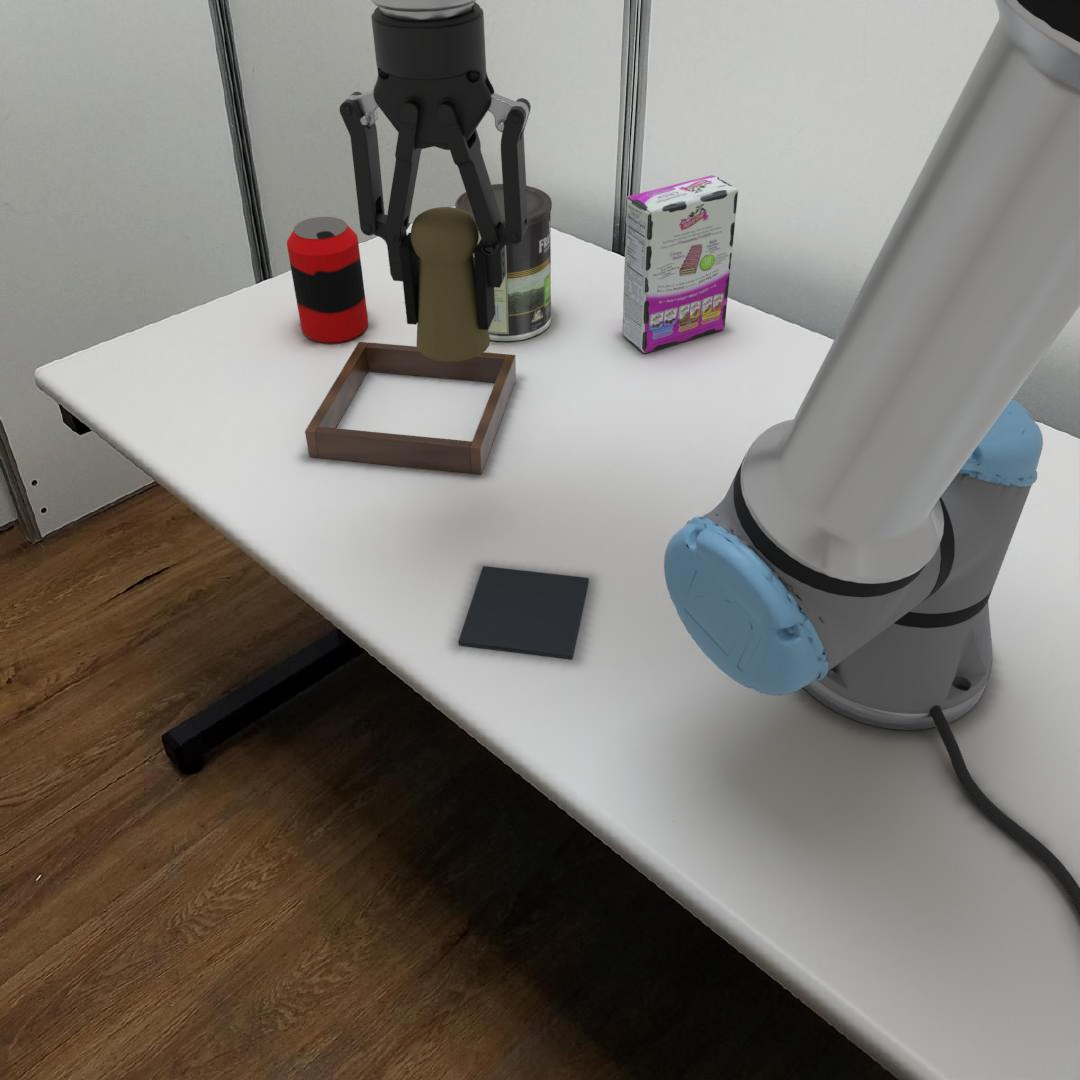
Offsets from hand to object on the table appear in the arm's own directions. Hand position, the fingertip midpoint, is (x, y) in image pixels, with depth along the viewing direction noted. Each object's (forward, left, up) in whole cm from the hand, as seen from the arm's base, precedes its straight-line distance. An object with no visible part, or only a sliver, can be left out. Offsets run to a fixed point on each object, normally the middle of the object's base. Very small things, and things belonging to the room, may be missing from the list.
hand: (451, 318), depth 86 cm
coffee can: (+33, +3, -18) cm, 38 cm away
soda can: (+28, +22, -18) cm, 40 cm away
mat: (-14, -8, -18) cm, 24 cm away
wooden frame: (+12, +8, -18) cm, 23 cm away
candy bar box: (+33, -16, -18) cm, 41 cm away
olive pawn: (0, 0, -2) cm, 2 cm away
